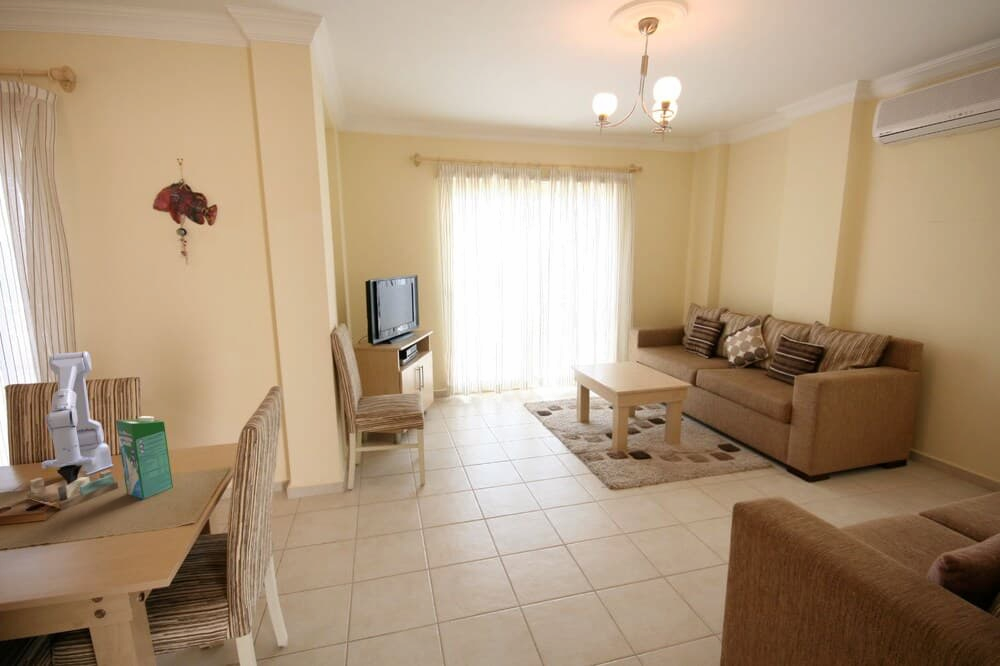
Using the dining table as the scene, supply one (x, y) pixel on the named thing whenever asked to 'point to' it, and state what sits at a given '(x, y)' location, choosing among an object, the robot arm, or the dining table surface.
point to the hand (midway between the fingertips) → (73, 487)
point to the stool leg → (72, 488)
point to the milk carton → (144, 456)
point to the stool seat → (86, 492)
